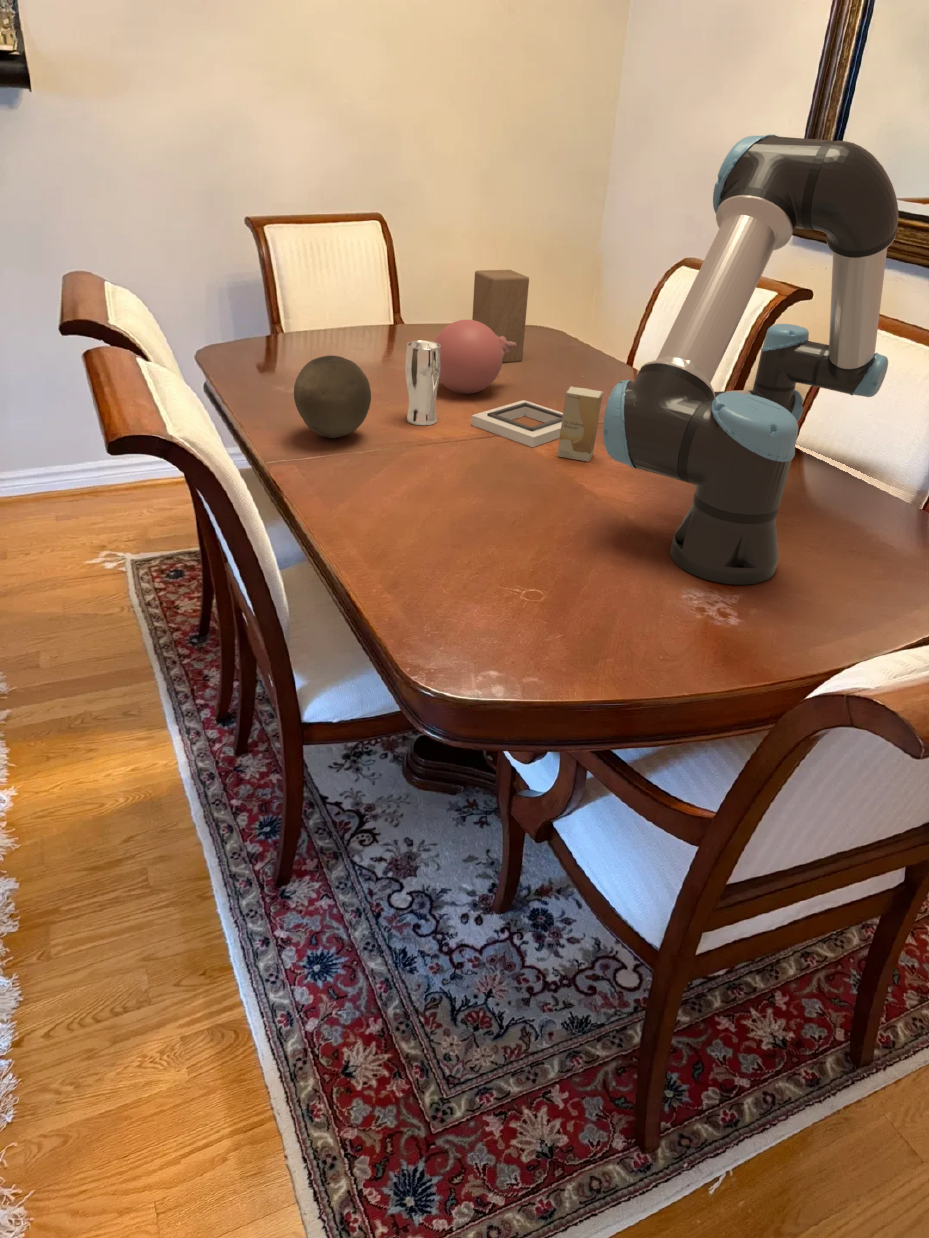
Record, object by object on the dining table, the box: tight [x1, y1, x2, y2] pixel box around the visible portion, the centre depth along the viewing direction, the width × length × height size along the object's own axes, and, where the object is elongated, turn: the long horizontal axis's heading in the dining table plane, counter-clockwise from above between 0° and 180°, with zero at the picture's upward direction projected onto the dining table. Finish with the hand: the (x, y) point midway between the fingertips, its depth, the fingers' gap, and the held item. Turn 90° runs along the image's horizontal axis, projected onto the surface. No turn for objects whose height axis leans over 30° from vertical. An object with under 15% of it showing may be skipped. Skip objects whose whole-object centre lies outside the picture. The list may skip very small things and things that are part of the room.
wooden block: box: [471, 269, 530, 364], centre depth 209 cm, size 10×10×20 cm
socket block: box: [470, 399, 563, 448], centre depth 170 cm, size 16×16×2 cm
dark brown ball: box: [293, 355, 372, 439], centre depth 156 cm, size 14×14×15 cm
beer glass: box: [404, 339, 441, 426], centre depth 167 cm, size 7×7×15 cm
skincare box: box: [556, 386, 604, 462], centre depth 156 cm, size 6×4×12 cm
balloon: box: [434, 319, 517, 395], centre depth 186 cm, size 15×20×15 cm
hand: (623, 416), depth 157 cm, fingers open, 13 cm apart
